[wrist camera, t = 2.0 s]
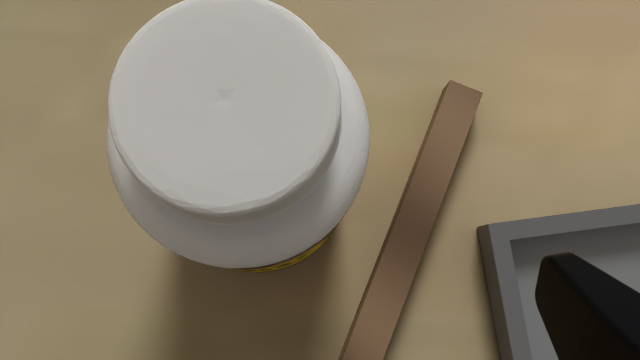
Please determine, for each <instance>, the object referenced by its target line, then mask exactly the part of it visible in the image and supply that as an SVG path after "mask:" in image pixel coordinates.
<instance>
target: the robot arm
mask: <svg viewBox="0 0 640 360" xmlns="http://www.w3.org/2000/svg"><path fill="white" fill-rule="evenodd" d="M535 301H536V305H537V308H538V311H539V313H540V316H541V318H542V320H543V323H544V325H545V328H546V330H547V333H548V335H549V338H550V340H551V342H552V345H553V347H554V350H555V352H556V355H557V357H558V360H640V293H639V292H638V291H636V290H634V289H633V288H631V287H629V286H628V285H626V284H624V283H623V282H621V281H619V280H618V279H616V278H614V277H613V276H611V275H609V274H608V273H606V272H604V271H603V270H601V269H599V268H598V267H596V266H594V265H593V264H591V263H589V262H588V261H586V260H584V259H583V258H581V257H579V256H577V255H576V254H574V253H571V252H562V253H556V254H550V255H546V256H544V257H543V259H542V260H541V263H540V268H539V273H538V278H537V283H536V288H535Z"/></svg>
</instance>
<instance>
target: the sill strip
mask: <svg viewBox="0 0 640 360" xmlns="http://www.w3.org/2000/svg"><path fill="white" fill-rule="evenodd" d="M482 94H483V93H482V92H479V91H477V90H474V89H472V88H469V87H467V86H464V85H462V84H459V83H457V82H454V81H452V80H450V81H449V82H448V84H447V85H446V86H445V88H444V89H443V91H442V94H441V96H440V99H439V102H438V104H437V107H436V109H435V112H434V114H433V117H432V119H431V122H430V125H429V127H428V130H427V132H426V135H425V137H424V140H423V143H422V145H421V148H420V150H419V153H418V155H417V158H416V161H415V163H414V166H413V168H412V171H411V173H410V176H409V179H408V181H407V184H406V186H405V189H404V191H403V194H402V197H401V199H400V202H399V204H398V207H397V209H396V212H395V215H394V217H393V220H392V222H391V225H390V227H389V230H388V233H387V235H386V238H385V240H384V243H383V245H382V248H381V251H380V253H379V256H378V258H377V261H376V263H375V266H374V269H373V271H372V274H371V276H370V279H369V281H368V284H367V287H366V289H365V292H364V294H363V297H362V299H361V302H360V305H359V307H358V310H357V312H356V315H355V317H354V320H353V323H352V325H351V328H350V330H349V333H348V335H347V338H346V341H345V343H344V346H343V348H342V351H341V353H340V356H339V359H338V360H383V358H384V356H385V353H386V350H387V348H388V345H389V342H390V340H391V337H392V334H393V332H394V329H395V326H396V324H397V321H398V318H399V316H400V313H401V310H402V308H403V305H404V302H405V299H406V297H407V294H408V291H409V289H410V286H411V283H412V281H413V278H414V275H415V273H416V270H417V267H418V265H419V262H420V259H421V257H422V254H423V251H424V249H425V246H426V243H427V241H428V238H429V235H430V233H431V230H432V227H433V225H434V222H435V219H436V217H437V214H438V211H439V209H440V206H441V203H442V201H443V198H444V195H445V193H446V190H447V187H448V185H449V182H450V179H451V177H452V174H453V171H454V169H455V166H456V163H457V161H458V158H459V155H460V153H461V150H462V147H463V145H464V142H465V139H466V137H467V134H468V131H469V129H470V126H471V123H472V121H473V118H474V115H475V113H476V110H477V107H478V105H479V102H480V99H481V97H482Z"/></svg>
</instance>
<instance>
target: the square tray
mask: <svg viewBox="0 0 640 360" xmlns="http://www.w3.org/2000/svg"><path fill="white" fill-rule="evenodd" d="M477 231H478V236H479V242H480V247H481V253H482V259H483V264H484V270H485V275H486V281H487V286H488V292H489V297H490V303H491V308H492V314H493V319H494V325H495V330H496V336H497V341H498V347H499V353H500V358H501V360H558V357H557V355H556V352H555V350H554V347H553V345H552V342H551V340H550V338H549V335H548V333H547V330H546V328H545V325H544V323H543V320H542V318H541V316H540V313H539V311H538V308H537V305H536V301H535V288H536V283H537V278H538V273H539V268H540V263H541V260H542V259H543V257H544V256H546V255H550V254H556V253H562V252H571V253H574V254H576V255H577V256H579V257H581V258H583V259H584V260H586V261H588V262H589V263H591V264H593V265H594V266H596V267H598V268H599V269H601V270H603V271H604V272H606V273H608V274H609V275H611V276H613V277H614V278H616V279H618V280H619V281H621V282H623V283H624V284H626V285H628V286H629V287H631V288H633V289H634V290H636V291H638V292H639V293H640V204H637V205H629V206H622V207H614V208H607V209H599V210H592V211H584V212H576V213H569V214H561V215H554V216H546V217H539V218H531V219H524V220H516V221H509V222H501V223H494V224H487V225H484V226H480V227H477Z"/></svg>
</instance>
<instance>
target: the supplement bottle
mask: <svg viewBox="0 0 640 360" xmlns="http://www.w3.org/2000/svg"><path fill="white" fill-rule="evenodd" d="M108 118H109V123H108V129H107V156H108V162H109V167H110V172H111V176H112V179H113V182H114V184H115V187H116V189H117V192H118V194H119V196H120V198H121V200H122V202H123V203H124V205H125V207H126V208H127V210H128V212H129V213H130V214H131V216H132V217H133V218H134V220H135V221H136V222H137V223H138V224H139V225H140V227H141V228H142V229H143V230H144V231H145V232H147V233H148V234H149V235H150V236H151V237H152V238H153V239H155V240H156V241H157V242H159V243H160V244H161V245H163V246H164V247H166V248H168V249H169V250H171V251H173V252H174V253H176V254H179V255H181V256H183V257H185V258H188V259H190V260H193V261H196V262H199V263H202V264H206V265H209V266H215V267H220V268H226V269H233V270H241V271H248V272H269V271H276V270H280V269H284V268H287V267H290V266H292V265H294V264H296V263H299V262H300V261H302V260H304V259H305V258H307V257H308V256H310V255H311V254H312V253H313V252H315V251H316V250H317V249H318V248H319V247H320V246H321V245H322V244H323V243H324V242H325V241H326V239H327V238H328V237H329V236H330V234H331V233H332V231H333V230H334V229H335V228H336V226H337V225H338V224H339V222H340V221H341V220H342V218H343V217H344V215H345V214H346V213H347V211H348V210H349V208H350V206H351V205H352V203H353V201H354V199H355V197H356V195H357V193H358V191H359V189H360V186H361V183H362V181H363V178H364V174H365V171H366V166H367V162H368V155H369V146H370V131H369V121H368V116H367V111H366V107H365V103H364V100H363V98H362V95H361V92H360V90H359V88H358V85H357V83H356V81H355V79H354V78H353V76H352V74H351V72H350V71H349V70H348V68H347V67H346V65H345V64H344V63H343V61H342V60H341V59H340V58H339V56H338V55H337V54H336V53H335V52H334V51H333V50H332V49H331V48H330V47H329V46H328V45H327V44H326V43H324V42H323V41H322V40H320V39H319V37H318V36H317V35H316V34H315V33H314V31H313V30H312V29H311V28H310V27H309V26H308V25H307V24H306V23H305V22H304V21H303V20H301V19H300V18H299V17H297V16H296V15H295V14H293V13H292V12H290V11H289V10H287V9H285V8H283V7H282V6H280V5H278V4H275V3H273V2H271V1H268V0H185V1H182V2H180V3H178V4H175V5H173V6H171V7H169V8H167V9H166V10H164V11H162V12H161V13H159V14H158V15H156V16H155V17H154V18H152V19H151V20H150V21H149V22H147V23H146V24H145V25H144V26H143V27H142V28H141V29H140V30H139V31H138V32H137V33H136V34H135V35H134V37H133V38H132V39H131V40H130V42H129V43H128V44H127V46H126V47H125V49H124V50H123V52H122V54H121V56H120V58H119V60H118V62H117V65H116V67H115V70H114V72H113V75H112V78H111V83H110V87H109V95H108Z"/></svg>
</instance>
